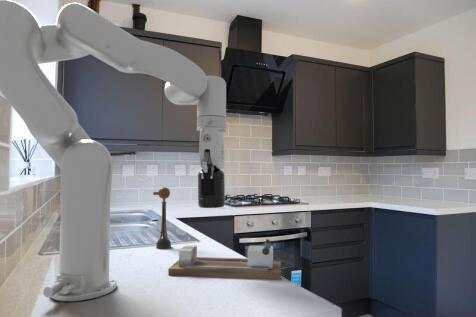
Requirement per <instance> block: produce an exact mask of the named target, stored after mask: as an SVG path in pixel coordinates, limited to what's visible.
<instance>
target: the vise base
mask: <svg viewBox="0 0 476 317" xmlns="http://www.w3.org/2000/svg"><path fill="white" fill-rule="evenodd" d="M281 262H282V261H281V260H273V269H268V268H253V267H247V258H243V257H241V258H239V257H215V256H214V257H208V256H205V257H204V256H198V245H197V244H195V245H193V244H192V245H191V244H186V245H184V246H183V247H181V248H180V249H179V250H178V260H177V261H176V262H174V263H173V264H172V265H171V266H170V267H169V268H167V270H168V271H167V273H168V274H167V275H168V276H184V277H188V276H189V277H206V278H207V277H208V278H209V277H210V278H232V279H233V278H235V279H258V280H259V279H261V280H262V279H263V280H264V279H265V280H282V263H281Z"/></svg>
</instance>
